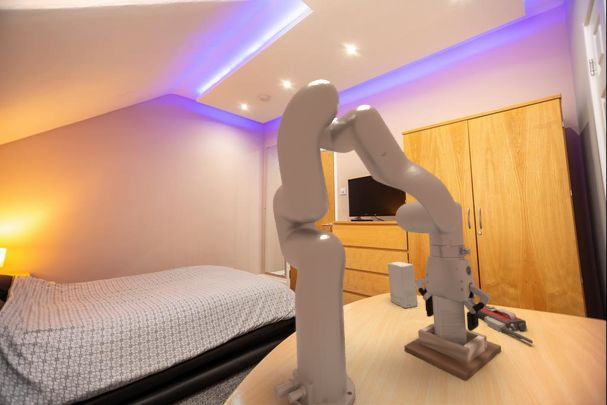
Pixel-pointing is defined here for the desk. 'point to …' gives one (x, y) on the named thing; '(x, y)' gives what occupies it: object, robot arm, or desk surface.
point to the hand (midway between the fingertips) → (450, 321)
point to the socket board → (453, 352)
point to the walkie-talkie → (503, 321)
